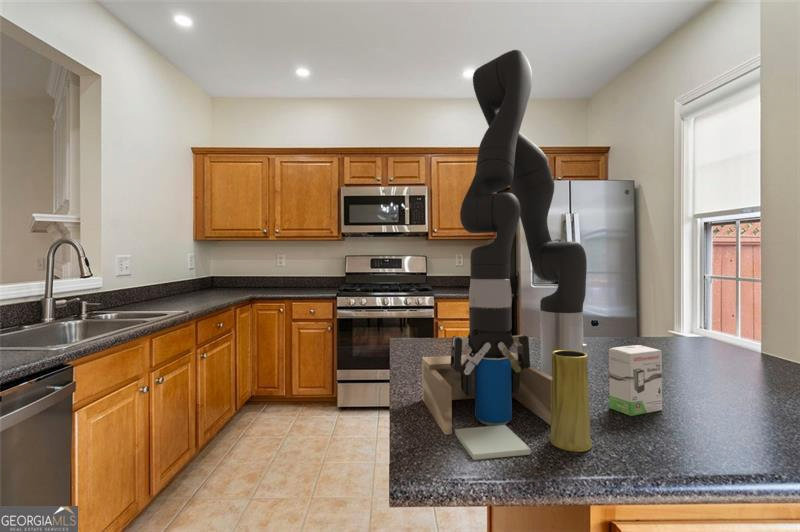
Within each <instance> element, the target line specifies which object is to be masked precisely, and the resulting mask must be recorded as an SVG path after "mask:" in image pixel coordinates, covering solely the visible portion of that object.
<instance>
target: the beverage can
mask: <svg viewBox="0 0 800 532" xmlns="http://www.w3.org/2000/svg"><path fill="white" fill-rule="evenodd" d="M512 398H513V397H512V393H511V362H510V361H509V359H508V357H506V358H505V357H503V358H484V357H483V358H482V359H481V360H480V362H479V363H478V365H476V366H475V398H474V416H475V418H476V419H477V420H478V421H479V422H480V423H482V424H483V425H485V426H498V425H506V426H507V424H508V423H509V422H511V421H512V418H513V414H512V413H513V411H512V405H513V404H512V401H513V400H512Z"/></svg>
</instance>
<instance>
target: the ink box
mask: <svg viewBox="0 0 800 532" xmlns="http://www.w3.org/2000/svg"><path fill="white" fill-rule="evenodd" d="M662 353H663V352H662V350H661V349H657V348H653V347H650V346H646V345H641V344H636V345H635V344H634V345H625V346H616V347H611V348H609V349H608V373H609V374H608V377H609V379H608V383H609V385H608V386H609V390H608V391H609V393H608V395H609V397H608V398H609V409H611V410H614V411H617V412H619V413H622V414H625V415H627V416H629V417H633V416H638V415H644V414H648V413H653V412H659V411H662V410H663V364H662V363H663V362H662V361H663V354H662Z"/></svg>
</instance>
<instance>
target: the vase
mask: <svg viewBox="0 0 800 532" xmlns="http://www.w3.org/2000/svg"><path fill="white" fill-rule="evenodd" d="M588 359H589V357H588V353H587V354H586V353H584V352H580V351H573V350H556V351H553V352H552V409H551V425H550V435H549V442H550V443H551V444H552V445H553V446H554V447H556V448H558V449H560V450H562V451H566V452H573V453H584V452H588V451H589V450H591V449H592V447H593V443H592V438H591V415H590V397H589V395H590V393H589V375H588V374H589V373H588V372H589V371H588V370H589V369H588Z"/></svg>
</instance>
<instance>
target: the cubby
mask: <svg viewBox="0 0 800 532" xmlns="http://www.w3.org/2000/svg"><path fill="white" fill-rule="evenodd" d="M510 353H511V354H512V356H513V357H514V359H515V361H516V362H517V361H518V354H517V353H515V352H510ZM467 355H468V354H462V356H461V365H462V363H463V362H464V361H465V359H466V356H467ZM450 364H451V355H442V356H441V355H440V356H439V355H438V356H437V355H436V356H423V357H421V369H422V371H421V374H422V375H421V376H422V382H421V383H422V391H421V392H422V401H423V402H424V404H425V407H426V408H427V409H428V411H429V412H430V414H431V416H432V417H433V418H434V420H435V421H436V423H437V425H438V426H439V427H440V429H441V431H442V432H443V434H444V435H446V436H447V435H448V436H449V435H452V434H453V430H452V429H453V423H452V422H453V417H452V416H453V415H452V412H453V411H452V404H453V402H452V401H456V400H470V399H475V367H474V368H473V370H472V371H471V373H470V374H471V375H472V395H469V396H467V395H466V394H465V392H464V391H463V390H462V388H461V373H460V372H456V371H455V370H454V369H453V368H451V366H450ZM511 393H512V392H511ZM512 398H513V399H515V400H517V402H518V403H520V404H521V405H523V406H524V407H525V408H526V409H528V410H530V411H531V412H532V413H534V414H535V415H536V416H537V417H539V419H541V420H543V421H544V422H546V423H547V424H548V425H549V426H551V409H552V377H551V376H549V375H547V374H545V373H543V372H541V370H539V369H537V368H536V367H534V366H531V365H530V367H529V368H528V369H526V368H525V369H523V370H521V371H520V387H519V389H517V393H512Z"/></svg>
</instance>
